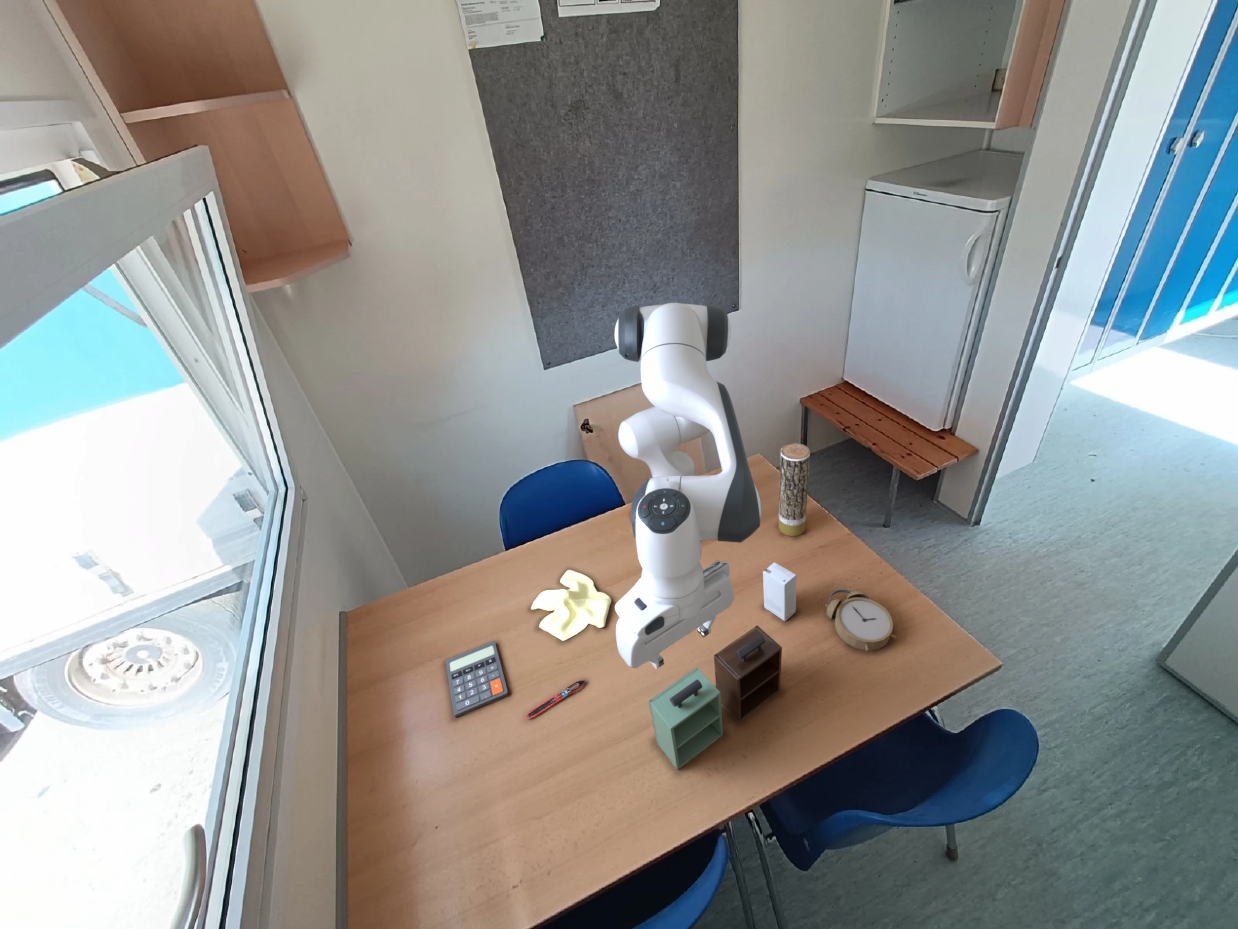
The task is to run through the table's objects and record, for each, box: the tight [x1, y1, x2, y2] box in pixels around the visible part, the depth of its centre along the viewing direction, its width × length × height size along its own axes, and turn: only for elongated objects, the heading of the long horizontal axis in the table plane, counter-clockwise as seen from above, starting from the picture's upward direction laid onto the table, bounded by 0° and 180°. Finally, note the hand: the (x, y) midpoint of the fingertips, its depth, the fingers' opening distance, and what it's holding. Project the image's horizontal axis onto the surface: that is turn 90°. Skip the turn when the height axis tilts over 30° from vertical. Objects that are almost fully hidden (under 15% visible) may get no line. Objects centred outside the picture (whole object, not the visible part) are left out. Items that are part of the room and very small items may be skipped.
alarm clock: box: [825, 588, 897, 652], centre depth 122 cm, size 11×5×15 cm
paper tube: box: [777, 442, 811, 537], centre depth 142 cm, size 7×7×25 cm
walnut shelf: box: [713, 625, 783, 723], centre depth 108 cm, size 17×11×6 cm
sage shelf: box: [648, 666, 724, 771], centre depth 103 cm, size 17×11×6 cm
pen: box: [525, 679, 586, 719], centre depth 118 cm, size 2×14×1 cm, turn 122°
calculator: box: [445, 640, 509, 718], centre depth 125 cm, size 12×1×15 cm
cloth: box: [530, 569, 612, 642], centre depth 137 cm, size 22×19×6 cm
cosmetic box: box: [762, 561, 797, 622], centre depth 125 cm, size 6×4×12 cm
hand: (681, 648), depth 90 cm, fingers open, 8 cm apart
